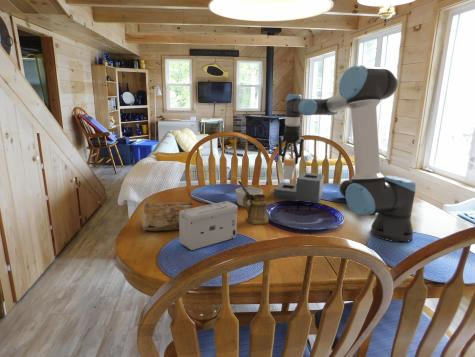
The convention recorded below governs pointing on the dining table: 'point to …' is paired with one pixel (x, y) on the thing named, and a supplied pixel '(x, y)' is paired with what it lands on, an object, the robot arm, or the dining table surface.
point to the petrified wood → (163, 215)
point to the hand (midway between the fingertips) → (289, 169)
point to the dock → (301, 188)
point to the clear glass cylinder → (288, 169)
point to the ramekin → (241, 193)
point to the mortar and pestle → (255, 207)
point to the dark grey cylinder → (344, 187)
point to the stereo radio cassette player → (207, 224)
